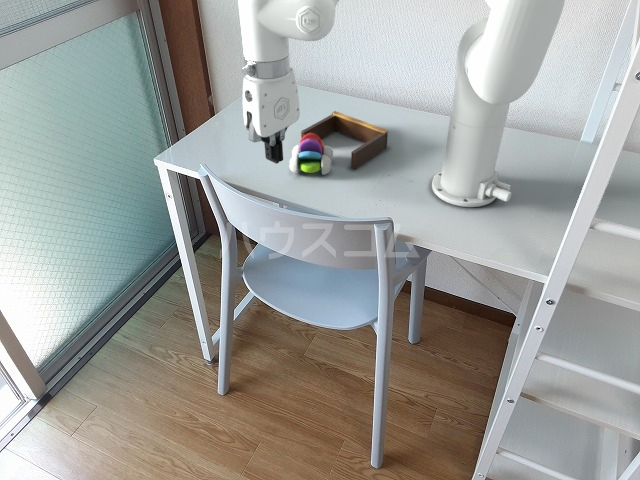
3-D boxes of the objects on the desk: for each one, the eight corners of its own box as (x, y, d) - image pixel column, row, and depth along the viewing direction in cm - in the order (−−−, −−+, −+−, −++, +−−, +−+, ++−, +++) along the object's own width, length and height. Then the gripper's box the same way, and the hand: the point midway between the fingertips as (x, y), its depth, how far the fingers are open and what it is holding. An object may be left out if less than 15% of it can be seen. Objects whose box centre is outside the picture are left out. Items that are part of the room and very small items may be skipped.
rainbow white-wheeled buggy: (333, 156, 112) (333, 126, 107) (330, 181, 104) (329, 149, 100) (294, 155, 113) (293, 124, 108) (288, 179, 105) (286, 148, 101)
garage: (387, 148, 114) (388, 130, 111) (354, 170, 108) (355, 151, 105) (335, 128, 122) (335, 110, 119) (301, 147, 115) (300, 129, 112)
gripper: (249, 84, 81) (259, 183, 92) (313, 57, 89) (315, 151, 101) (218, 72, 85) (231, 169, 96) (282, 48, 93) (287, 139, 105)
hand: (274, 159), depth 99 cm, fingers closed
